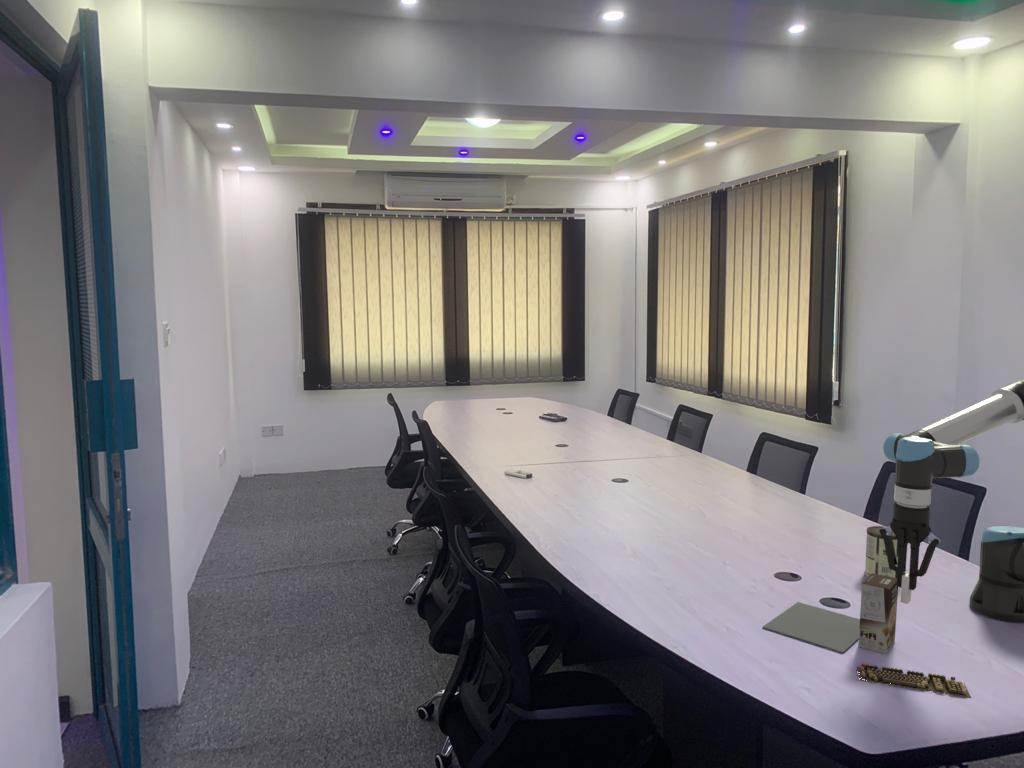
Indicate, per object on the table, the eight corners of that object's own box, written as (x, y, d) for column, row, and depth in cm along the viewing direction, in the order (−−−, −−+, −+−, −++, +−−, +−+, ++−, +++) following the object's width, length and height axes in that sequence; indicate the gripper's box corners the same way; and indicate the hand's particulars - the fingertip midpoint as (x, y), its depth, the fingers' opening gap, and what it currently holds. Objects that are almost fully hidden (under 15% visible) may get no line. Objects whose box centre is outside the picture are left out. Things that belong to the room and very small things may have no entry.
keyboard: (858, 684, 162) (858, 675, 161) (854, 665, 170) (854, 657, 170) (972, 702, 154) (972, 693, 154) (962, 682, 163) (963, 673, 162)
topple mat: (874, 624, 190) (874, 623, 190) (843, 653, 174) (843, 652, 174) (797, 603, 204) (798, 601, 204) (762, 628, 188) (762, 626, 188)
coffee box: (886, 654, 174) (890, 589, 172) (857, 646, 178) (861, 582, 176) (895, 641, 181) (899, 578, 179) (867, 633, 185) (871, 572, 183)
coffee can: (886, 568, 231) (889, 525, 229) (909, 580, 221) (912, 535, 219) (857, 570, 229) (859, 526, 228) (878, 582, 219) (881, 536, 218)
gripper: (876, 501, 173) (871, 598, 176) (938, 512, 164) (932, 614, 167) (886, 496, 179) (881, 589, 181) (947, 506, 170) (940, 604, 172)
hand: (905, 601), depth 174 cm, fingers closed
